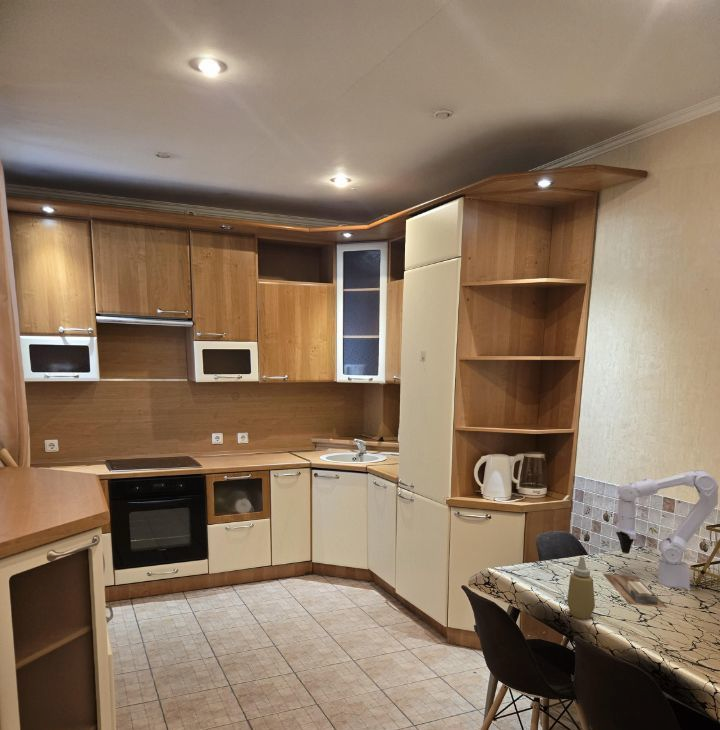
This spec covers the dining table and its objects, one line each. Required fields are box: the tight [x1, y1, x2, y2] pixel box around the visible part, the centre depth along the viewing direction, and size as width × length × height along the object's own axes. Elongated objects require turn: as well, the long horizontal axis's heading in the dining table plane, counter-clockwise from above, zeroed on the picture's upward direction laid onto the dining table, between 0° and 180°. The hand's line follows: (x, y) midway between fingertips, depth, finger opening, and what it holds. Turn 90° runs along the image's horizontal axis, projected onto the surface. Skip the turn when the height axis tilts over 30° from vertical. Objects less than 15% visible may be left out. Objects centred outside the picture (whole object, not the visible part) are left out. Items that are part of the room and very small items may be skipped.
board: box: [602, 573, 669, 608], centre depth 179 cm, size 12×26×3 cm, turn 172°
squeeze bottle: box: [566, 556, 596, 620], centre depth 159 cm, size 8×8×18 cm
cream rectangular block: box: [628, 581, 652, 596], centre depth 173 cm, size 4×10×3 cm, turn 172°
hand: (625, 552), depth 192 cm, fingers closed
